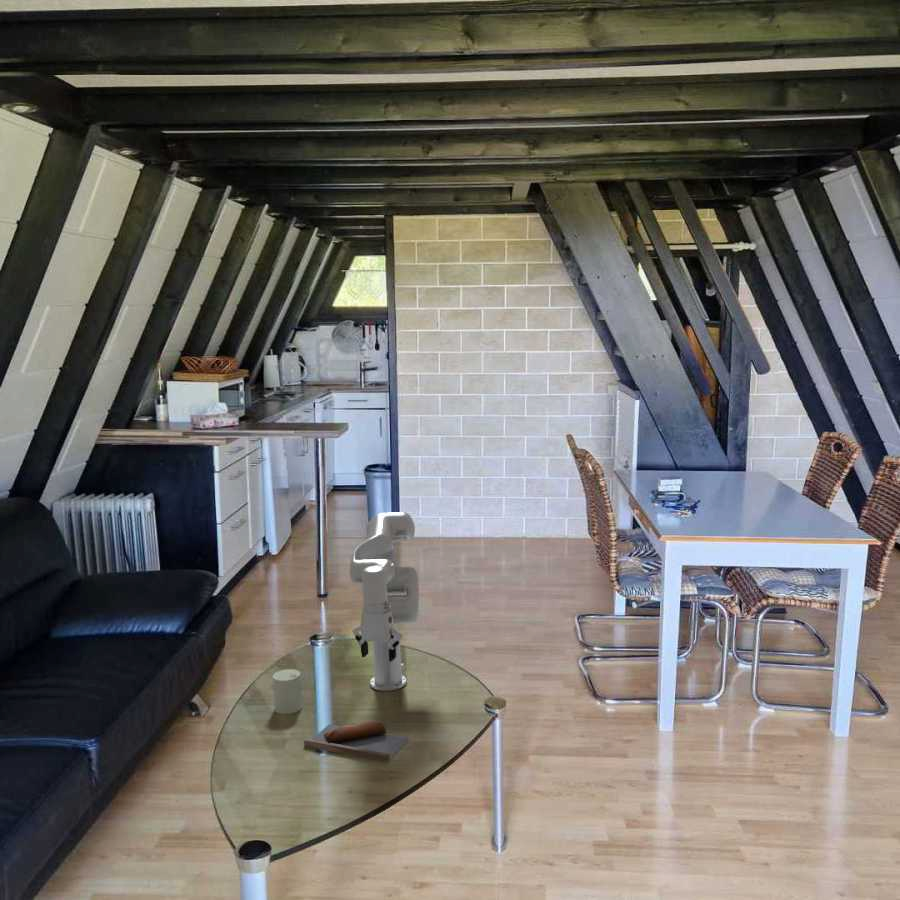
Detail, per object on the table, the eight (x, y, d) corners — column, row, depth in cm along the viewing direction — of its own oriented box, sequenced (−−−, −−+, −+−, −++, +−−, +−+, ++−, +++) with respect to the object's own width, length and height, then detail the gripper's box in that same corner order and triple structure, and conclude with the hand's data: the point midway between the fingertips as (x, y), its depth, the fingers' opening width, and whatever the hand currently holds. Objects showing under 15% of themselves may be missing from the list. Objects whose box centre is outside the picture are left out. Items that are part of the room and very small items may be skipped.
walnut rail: (306, 744, 248) (306, 738, 248) (389, 760, 237) (389, 753, 237) (304, 746, 247) (303, 740, 246) (387, 762, 236) (387, 755, 236)
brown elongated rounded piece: (379, 722, 258) (381, 709, 254) (384, 741, 253) (387, 729, 249) (322, 734, 252) (323, 721, 248) (327, 754, 247) (328, 741, 243)
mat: (329, 724, 260) (329, 724, 260) (409, 739, 249) (409, 738, 249) (306, 744, 248) (306, 743, 248) (389, 760, 237) (389, 759, 237)
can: (294, 715, 267) (291, 680, 265) (269, 712, 270) (266, 677, 268) (308, 703, 275) (305, 669, 274) (283, 700, 278) (281, 666, 276)
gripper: (406, 604, 257) (408, 656, 260) (357, 598, 264) (360, 649, 267) (395, 613, 250) (398, 666, 253) (345, 607, 257) (348, 658, 260)
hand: (378, 657), depth 260 cm, fingers open, 9 cm apart
